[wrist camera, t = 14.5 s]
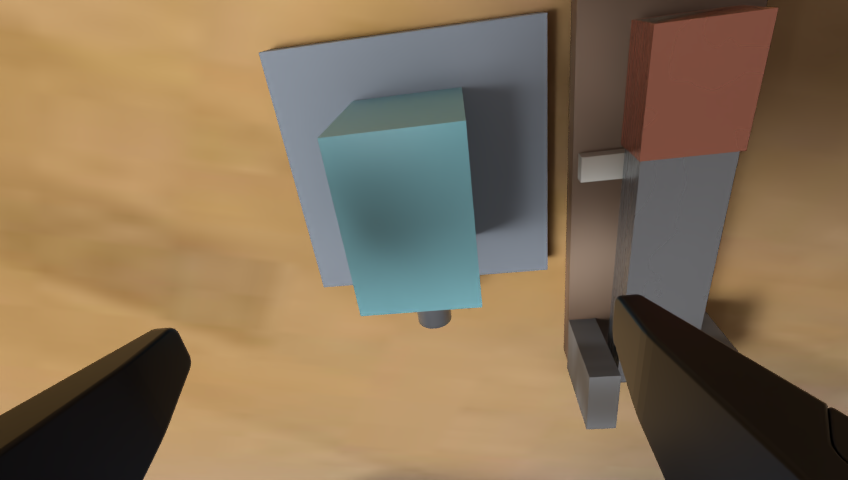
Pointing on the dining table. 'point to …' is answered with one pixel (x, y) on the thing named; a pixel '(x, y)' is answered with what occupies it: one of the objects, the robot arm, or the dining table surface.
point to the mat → (420, 72)
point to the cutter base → (602, 189)
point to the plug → (405, 203)
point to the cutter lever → (684, 149)
